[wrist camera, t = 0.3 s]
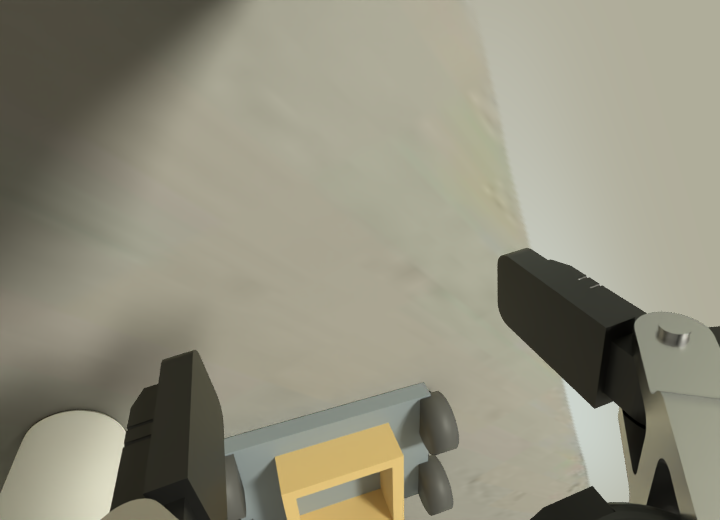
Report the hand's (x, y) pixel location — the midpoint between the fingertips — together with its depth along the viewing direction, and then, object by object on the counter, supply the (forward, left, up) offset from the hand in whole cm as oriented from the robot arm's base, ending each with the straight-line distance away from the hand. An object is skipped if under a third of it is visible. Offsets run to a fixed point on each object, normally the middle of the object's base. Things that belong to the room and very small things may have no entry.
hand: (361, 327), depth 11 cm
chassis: (+30, +1, -18) cm, 35 cm away
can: (+19, -17, -18) cm, 31 cm away
